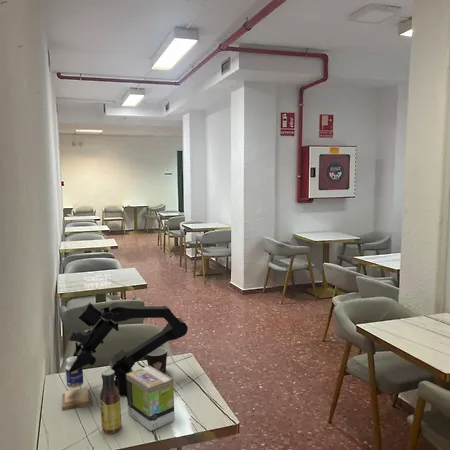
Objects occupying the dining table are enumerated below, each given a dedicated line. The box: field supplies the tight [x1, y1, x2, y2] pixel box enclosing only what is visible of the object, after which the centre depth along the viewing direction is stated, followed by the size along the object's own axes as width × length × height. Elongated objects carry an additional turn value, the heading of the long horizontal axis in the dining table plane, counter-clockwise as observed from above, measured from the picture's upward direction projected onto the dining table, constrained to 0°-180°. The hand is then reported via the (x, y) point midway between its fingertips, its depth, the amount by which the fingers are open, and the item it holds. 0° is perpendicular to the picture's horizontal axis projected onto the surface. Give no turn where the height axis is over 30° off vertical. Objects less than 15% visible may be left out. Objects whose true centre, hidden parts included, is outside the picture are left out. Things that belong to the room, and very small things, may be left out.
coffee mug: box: [136, 346, 168, 375], centre depth 179 cm, size 12×9×10 cm
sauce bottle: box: [99, 368, 122, 435], centre depth 140 cm, size 6×6×20 cm
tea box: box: [126, 365, 176, 432], centre depth 147 cm, size 15×10×15 cm
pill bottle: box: [65, 355, 84, 389], centre depth 158 cm, size 6×6×10 cm
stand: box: [61, 387, 93, 411], centre depth 160 cm, size 10×10×2 cm
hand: (69, 367), depth 157 cm, fingers closed on pill bottle, 6 cm apart
